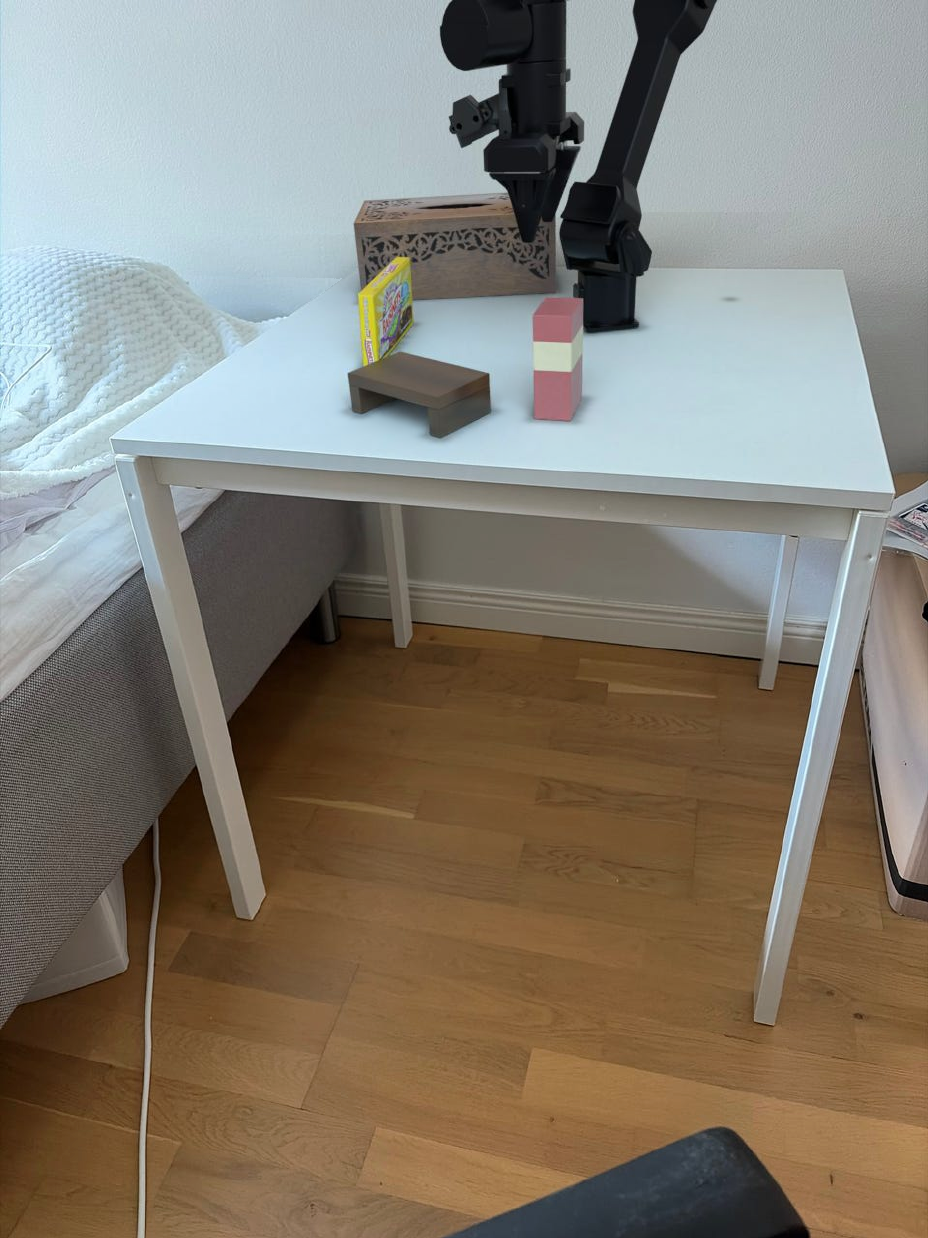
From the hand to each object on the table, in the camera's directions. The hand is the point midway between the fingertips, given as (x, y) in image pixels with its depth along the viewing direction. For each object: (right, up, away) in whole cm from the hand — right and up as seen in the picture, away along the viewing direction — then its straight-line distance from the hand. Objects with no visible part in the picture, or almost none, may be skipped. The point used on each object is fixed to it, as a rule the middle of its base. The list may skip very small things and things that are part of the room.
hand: (538, 231), depth 100 cm
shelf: (-12, -20, -5) cm, 24 cm away
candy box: (-16, -9, +12) cm, 22 cm away
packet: (+1, -20, -6) cm, 21 cm away
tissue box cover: (-8, +6, +33) cm, 35 cm away
